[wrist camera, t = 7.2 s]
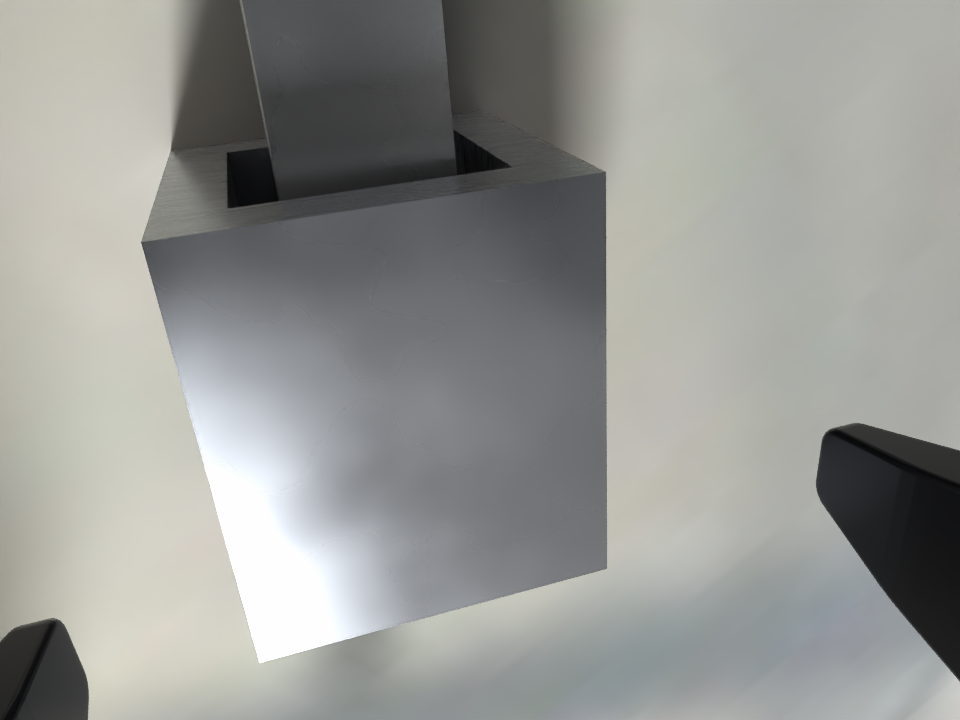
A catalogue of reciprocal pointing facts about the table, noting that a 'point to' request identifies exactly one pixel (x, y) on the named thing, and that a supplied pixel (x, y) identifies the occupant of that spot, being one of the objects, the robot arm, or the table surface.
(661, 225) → the table surface
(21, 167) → the table surface
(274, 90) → the grey l-shaped piece
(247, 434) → the socket
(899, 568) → the robot arm
